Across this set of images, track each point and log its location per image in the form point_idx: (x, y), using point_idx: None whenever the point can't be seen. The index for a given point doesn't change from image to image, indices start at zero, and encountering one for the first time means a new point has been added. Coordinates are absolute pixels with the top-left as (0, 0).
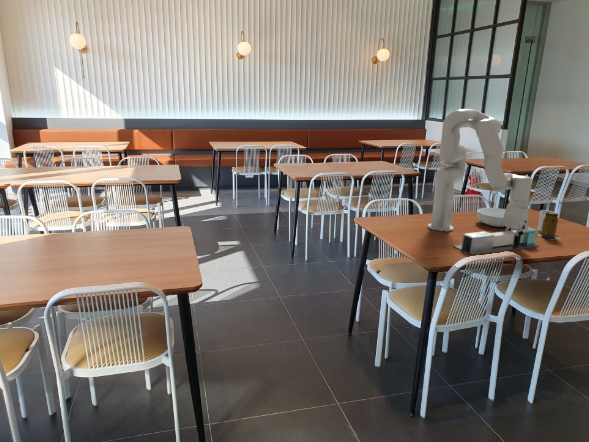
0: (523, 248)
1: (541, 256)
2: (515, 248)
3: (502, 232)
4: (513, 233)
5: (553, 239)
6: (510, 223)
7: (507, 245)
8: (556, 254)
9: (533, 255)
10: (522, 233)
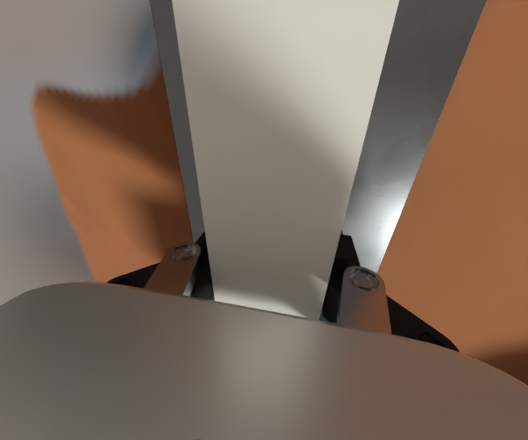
0: (192, 213)
1: (64, 188)
2: (176, 138)
3: (325, 127)
4: (219, 248)
5: None
6: (212, 437)
7: None
8: (104, 275)
9: (73, 157)
10: (120, 283)
